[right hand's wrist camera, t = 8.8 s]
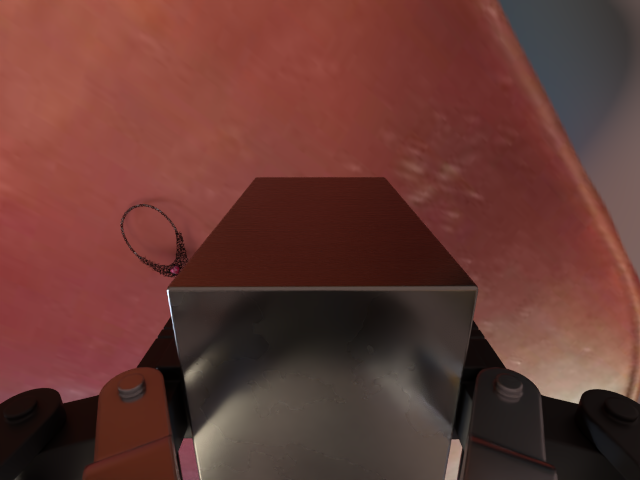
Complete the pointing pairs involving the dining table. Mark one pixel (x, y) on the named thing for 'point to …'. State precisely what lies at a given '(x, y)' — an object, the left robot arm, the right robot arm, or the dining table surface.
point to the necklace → (176, 267)
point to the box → (322, 336)
